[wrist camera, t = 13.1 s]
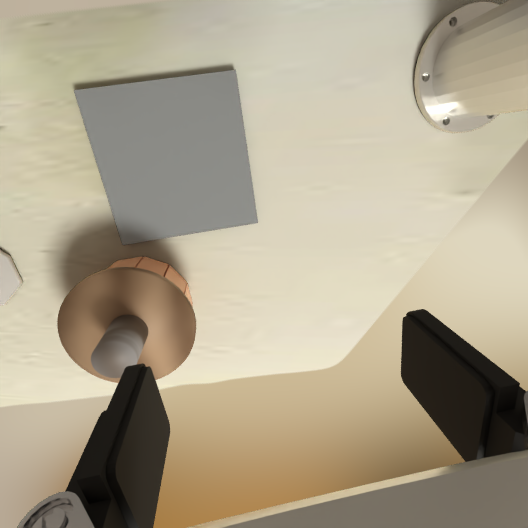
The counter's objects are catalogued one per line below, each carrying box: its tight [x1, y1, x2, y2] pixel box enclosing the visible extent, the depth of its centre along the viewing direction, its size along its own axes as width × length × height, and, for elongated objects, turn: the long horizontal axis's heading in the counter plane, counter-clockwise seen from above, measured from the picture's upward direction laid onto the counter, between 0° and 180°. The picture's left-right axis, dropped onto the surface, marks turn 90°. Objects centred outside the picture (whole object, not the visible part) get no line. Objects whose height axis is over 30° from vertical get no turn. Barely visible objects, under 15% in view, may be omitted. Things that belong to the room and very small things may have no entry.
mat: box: [74, 70, 258, 245], centre depth 34 cm, size 16×16×1 cm
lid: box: [58, 267, 196, 383], centre depth 31 cm, size 14×14×6 cm
